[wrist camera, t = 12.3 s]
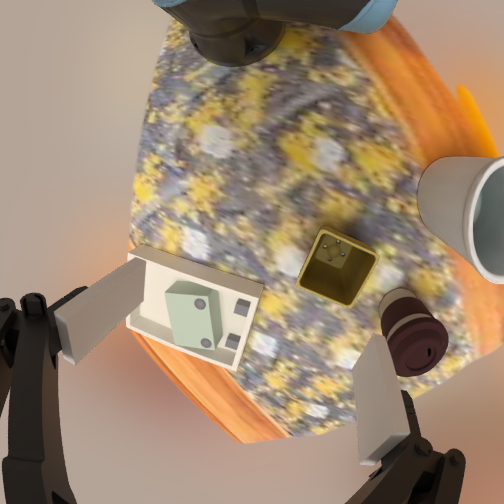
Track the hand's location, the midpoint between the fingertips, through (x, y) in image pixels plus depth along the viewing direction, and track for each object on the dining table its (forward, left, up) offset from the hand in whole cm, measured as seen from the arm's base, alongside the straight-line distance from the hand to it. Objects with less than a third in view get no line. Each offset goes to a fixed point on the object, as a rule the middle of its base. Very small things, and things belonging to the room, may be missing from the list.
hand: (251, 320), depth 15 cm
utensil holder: (-11, +25, -31) cm, 41 cm away
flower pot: (+4, +8, -31) cm, 32 cm away
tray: (+22, -13, -31) cm, 40 cm away
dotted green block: (+22, -11, -30) cm, 39 cm away
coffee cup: (+10, +23, -31) cm, 40 cm away
